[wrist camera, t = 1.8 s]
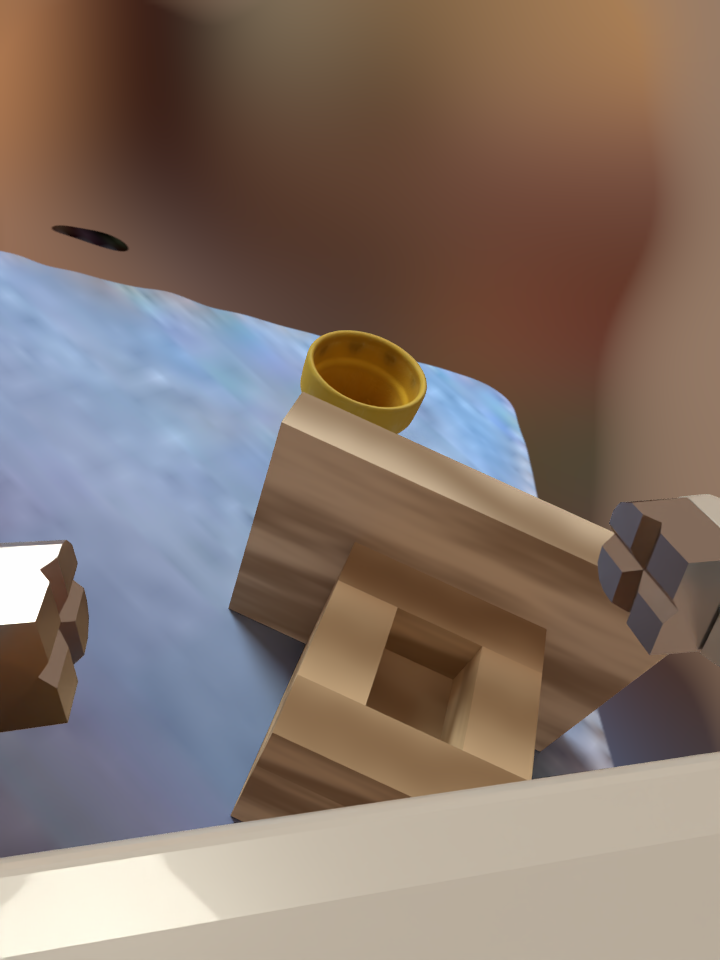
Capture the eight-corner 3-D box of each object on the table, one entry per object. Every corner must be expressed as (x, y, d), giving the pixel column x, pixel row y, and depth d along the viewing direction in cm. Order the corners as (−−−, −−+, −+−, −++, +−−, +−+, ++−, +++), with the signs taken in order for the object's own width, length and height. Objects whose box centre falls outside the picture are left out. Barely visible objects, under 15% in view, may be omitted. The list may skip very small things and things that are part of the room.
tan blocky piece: (521, 951, 36) (751, 874, 23) (134, 771, 36) (157, 601, 24) (543, 713, 47) (708, 575, 34) (246, 577, 47) (302, 391, 34)
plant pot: (357, 509, 55) (395, 428, 48) (260, 447, 56) (284, 360, 50) (407, 450, 62) (446, 372, 55) (320, 396, 64) (347, 314, 57)
